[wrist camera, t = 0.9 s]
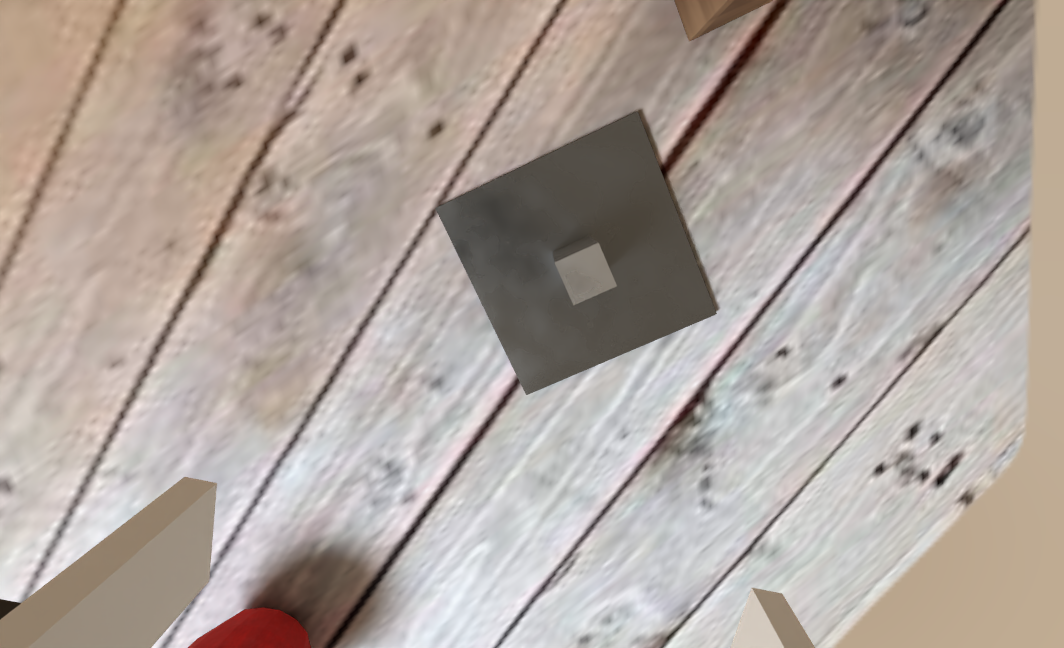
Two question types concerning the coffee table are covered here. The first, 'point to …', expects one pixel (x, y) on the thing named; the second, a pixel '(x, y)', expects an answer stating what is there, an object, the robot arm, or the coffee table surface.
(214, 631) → the apple
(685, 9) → the tan wooden block
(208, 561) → the robot arm
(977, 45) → the coffee table surface
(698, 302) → the grey square base plate
